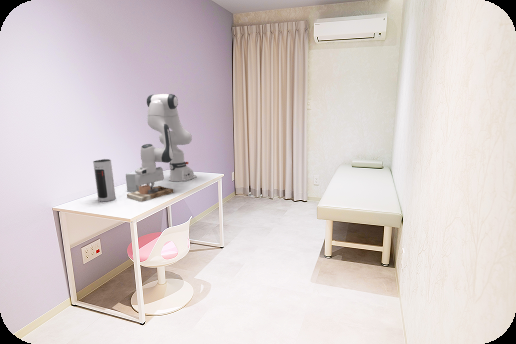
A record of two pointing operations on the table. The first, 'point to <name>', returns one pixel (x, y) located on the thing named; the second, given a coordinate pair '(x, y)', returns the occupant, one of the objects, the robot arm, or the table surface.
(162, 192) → the wooden tray
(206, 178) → the table surface
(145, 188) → the terracotta block
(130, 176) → the supplement box
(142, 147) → the robot arm
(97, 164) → the speaker
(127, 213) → the table surface
